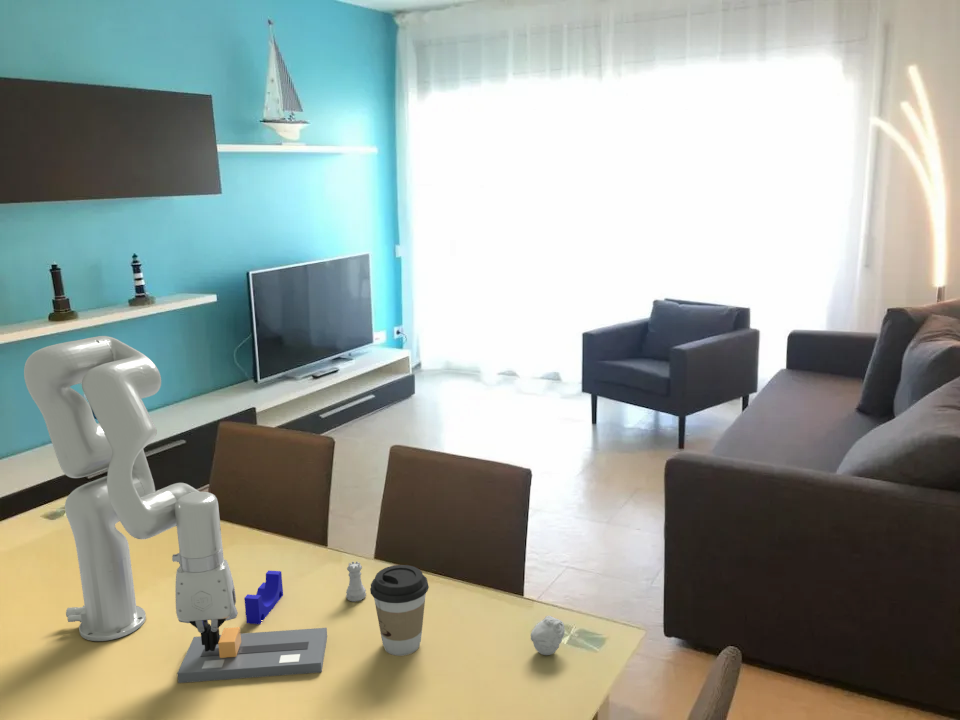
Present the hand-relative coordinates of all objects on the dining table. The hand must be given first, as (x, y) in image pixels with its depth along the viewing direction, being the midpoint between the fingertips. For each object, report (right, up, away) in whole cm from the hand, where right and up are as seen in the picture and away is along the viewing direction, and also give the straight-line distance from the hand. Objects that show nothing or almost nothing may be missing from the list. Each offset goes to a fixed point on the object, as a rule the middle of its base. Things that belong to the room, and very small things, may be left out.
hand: (211, 647), depth 150 cm
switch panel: (+8, -3, +2) cm, 9 cm away
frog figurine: (+64, -2, +2) cm, 64 cm away
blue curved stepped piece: (+4, +1, +20) cm, 20 cm away
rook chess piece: (+24, +2, +24) cm, 34 cm away
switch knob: (+4, -1, +1) cm, 4 cm away
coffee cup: (+36, -2, +5) cm, 36 cm away
